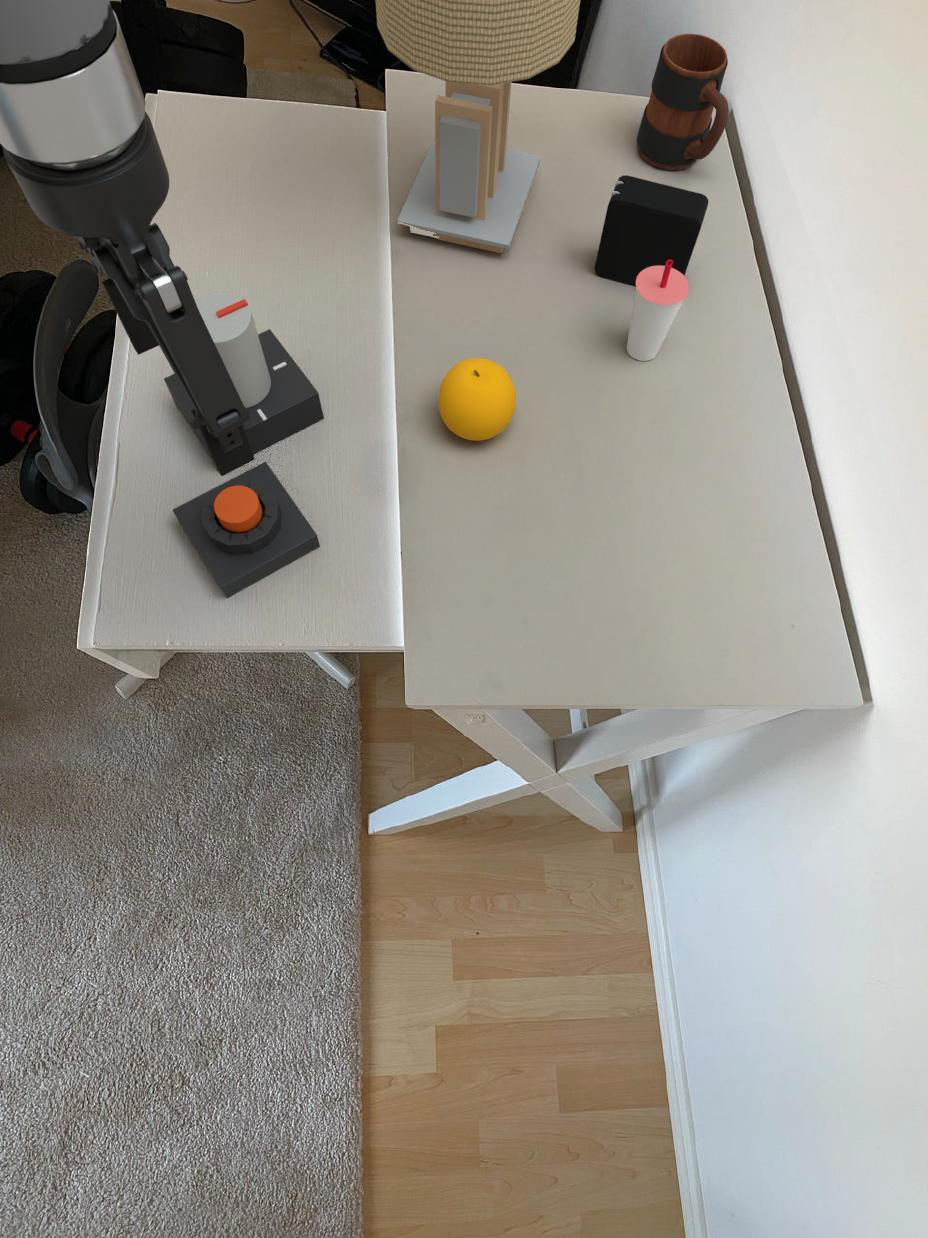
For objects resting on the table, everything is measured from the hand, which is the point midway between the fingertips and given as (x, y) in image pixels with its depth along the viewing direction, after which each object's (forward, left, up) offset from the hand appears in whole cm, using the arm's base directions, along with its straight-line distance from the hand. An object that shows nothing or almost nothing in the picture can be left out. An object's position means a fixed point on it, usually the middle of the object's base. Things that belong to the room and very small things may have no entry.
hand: (192, 402), depth 59 cm
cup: (+47, -4, -19) cm, 51 cm away
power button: (0, -1, -15) cm, 15 cm away
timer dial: (+7, +12, -14) cm, 20 cm away
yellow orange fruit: (+26, -2, -19) cm, 32 cm away
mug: (+71, +18, -19) cm, 76 cm away
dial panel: (+7, +12, -19) cm, 23 cm away
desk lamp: (+44, +25, -19) cm, 54 cm away
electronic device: (+54, +5, -19) cm, 57 cm away
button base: (0, -1, -19) cm, 19 cm away
